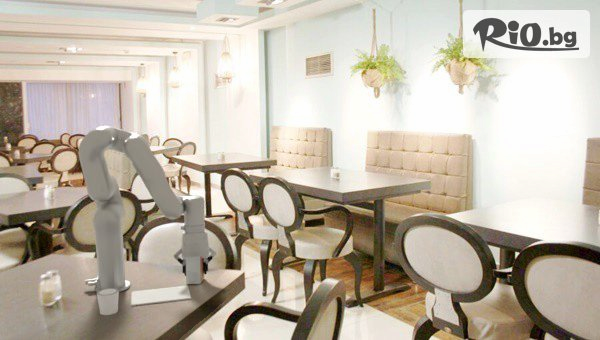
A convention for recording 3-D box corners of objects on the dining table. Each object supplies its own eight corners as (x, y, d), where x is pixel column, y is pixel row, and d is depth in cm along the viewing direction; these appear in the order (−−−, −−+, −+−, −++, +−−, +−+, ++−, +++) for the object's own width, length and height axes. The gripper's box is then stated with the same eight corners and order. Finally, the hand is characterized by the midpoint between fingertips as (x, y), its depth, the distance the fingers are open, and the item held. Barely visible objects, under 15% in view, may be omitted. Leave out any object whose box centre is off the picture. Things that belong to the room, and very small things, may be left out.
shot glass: (107, 317, 169) (105, 296, 168) (93, 313, 172) (92, 292, 171) (124, 310, 175) (123, 290, 174) (110, 306, 178) (109, 286, 177)
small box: (200, 284, 197) (200, 257, 196) (185, 284, 197) (185, 257, 196) (204, 277, 205) (204, 251, 204) (190, 277, 205) (190, 250, 204)
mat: (131, 306, 178) (131, 304, 178) (131, 292, 190) (131, 291, 190) (191, 299, 184) (191, 297, 183) (187, 286, 196) (187, 285, 196)
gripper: (171, 232, 192) (172, 279, 195) (219, 229, 197) (219, 275, 200) (170, 227, 199) (171, 272, 202) (216, 224, 205) (216, 269, 207)
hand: (195, 273), depth 201 cm, fingers closed on small box, 6 cm apart
